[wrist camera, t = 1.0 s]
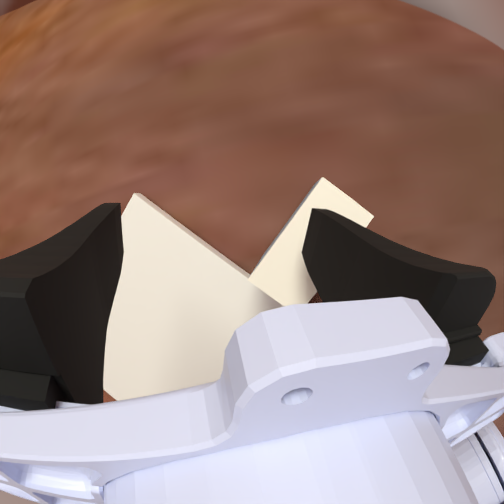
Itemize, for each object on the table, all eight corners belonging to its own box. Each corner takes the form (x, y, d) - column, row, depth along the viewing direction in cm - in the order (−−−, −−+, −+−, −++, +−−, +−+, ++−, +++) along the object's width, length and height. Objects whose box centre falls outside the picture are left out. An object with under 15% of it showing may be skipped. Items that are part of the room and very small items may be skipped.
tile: (329, 331, 23) (330, 337, 22) (207, 454, 27) (205, 460, 26) (140, 193, 24) (133, 193, 23) (65, 346, 28) (60, 350, 27)
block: (349, 209, 22) (374, 216, 14) (298, 276, 23) (297, 315, 15) (314, 184, 22) (322, 176, 14) (265, 252, 23) (247, 279, 16)
